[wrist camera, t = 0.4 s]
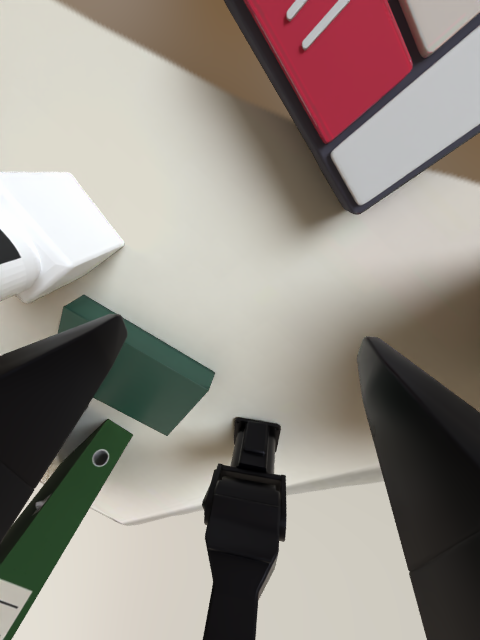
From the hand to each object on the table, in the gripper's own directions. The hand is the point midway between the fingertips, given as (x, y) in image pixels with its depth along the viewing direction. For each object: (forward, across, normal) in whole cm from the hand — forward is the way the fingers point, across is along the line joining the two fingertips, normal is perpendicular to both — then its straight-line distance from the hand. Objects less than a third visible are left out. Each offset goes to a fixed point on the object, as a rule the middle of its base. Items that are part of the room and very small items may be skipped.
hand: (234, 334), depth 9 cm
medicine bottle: (+15, +18, 0) cm, 24 cm away
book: (+14, +17, +18) cm, 28 cm away
